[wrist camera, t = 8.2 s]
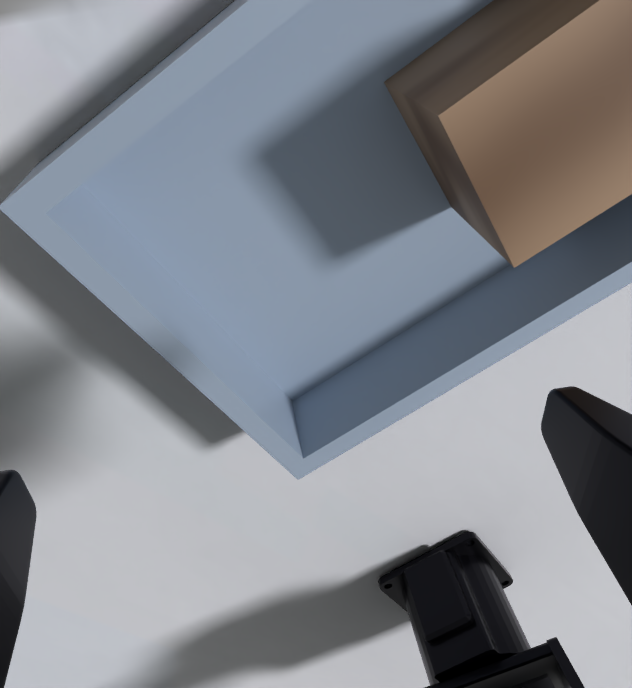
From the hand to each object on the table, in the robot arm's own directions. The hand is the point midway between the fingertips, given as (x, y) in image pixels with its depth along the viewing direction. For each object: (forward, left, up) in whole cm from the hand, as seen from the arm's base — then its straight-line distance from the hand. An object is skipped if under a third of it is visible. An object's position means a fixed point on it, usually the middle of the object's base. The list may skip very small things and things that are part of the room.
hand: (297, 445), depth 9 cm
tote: (-2, -4, -12) cm, 13 cm away
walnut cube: (-2, -8, -11) cm, 14 cm away
